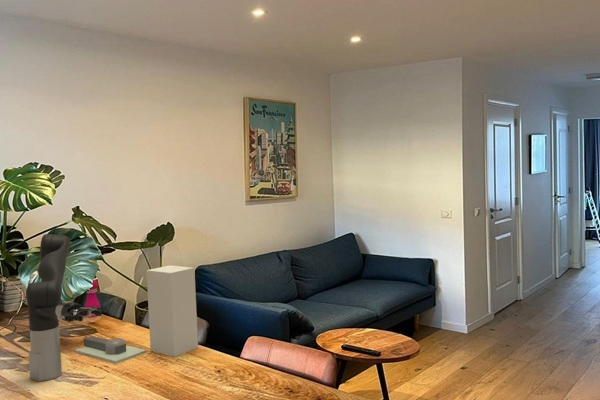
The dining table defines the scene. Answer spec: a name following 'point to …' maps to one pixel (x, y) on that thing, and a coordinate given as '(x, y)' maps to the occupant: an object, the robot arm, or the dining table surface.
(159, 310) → the tower
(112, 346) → the gray mallet
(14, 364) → the dining table surface
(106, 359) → the assembly mat
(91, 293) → the pepper mill
